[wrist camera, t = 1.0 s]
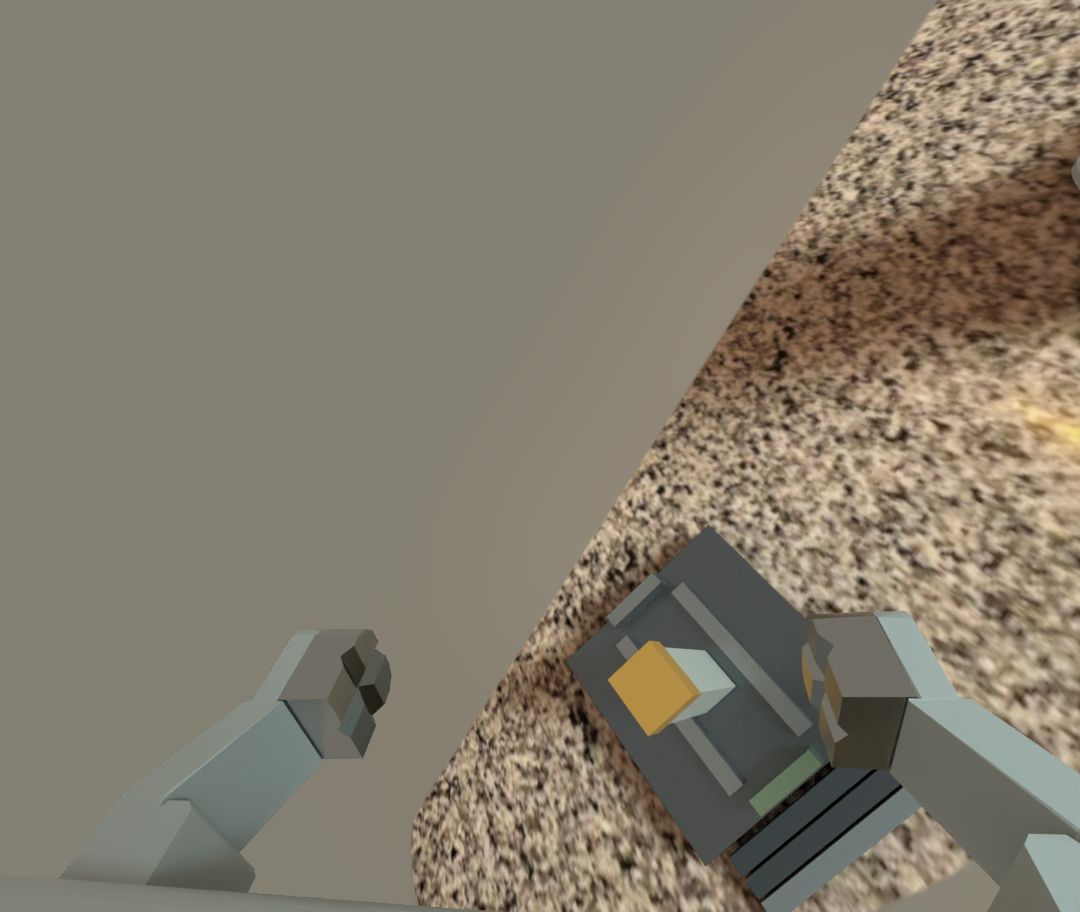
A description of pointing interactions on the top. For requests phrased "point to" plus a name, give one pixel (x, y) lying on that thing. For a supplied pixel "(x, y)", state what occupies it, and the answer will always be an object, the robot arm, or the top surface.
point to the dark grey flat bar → (821, 835)
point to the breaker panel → (737, 719)
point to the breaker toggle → (669, 685)
